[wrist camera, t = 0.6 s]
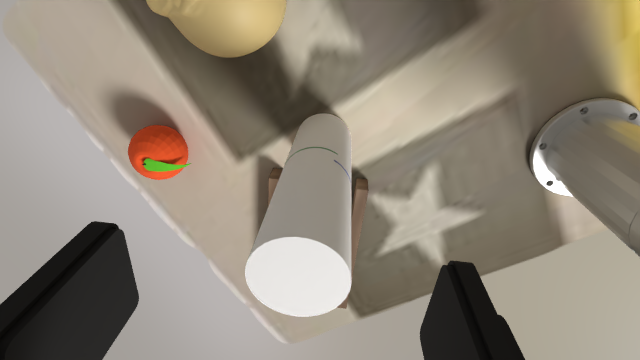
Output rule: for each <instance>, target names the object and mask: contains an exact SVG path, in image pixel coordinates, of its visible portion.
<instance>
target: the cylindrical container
mask: <svg viewBox="0 0 640 360" xmlns="http://www.w3.org/2000/svg"><path fill="white" fill-rule="evenodd" d="M245 277H246V281H247V285H248V287H249V288H250V290H251V292H252V293H253V294H254V296H255V297H256V298H257V299H258V300H259V301H260V302H262V303H263V304H264V305H266V306H267V307H269V308H271V309H273V310H275V311H277V312H280V313H283V314H287V315H291V316H299V317H310V316H316V315H321V314H324V313H327V312H329V311H331V310H333V309H335V308H336V307H338V306H339V305H340V304H341V303H342V302H343V301H344V300H345V299H346V297H347V295H348V293H349V291H350V287H351V133H350V130H349V128H348V126H347V125H346V124H345V122H344V121H342V120H341V119H340V118H338V117H337V116H334V115H331V114H326V113H321V114H315V115H312V116H310V117H308V118H307V119H306V120H304V122H303V123H302V124H301V125H300V127H299V129H298V132H297V134H296V137H295V139H294V142H293V145H292V147H291V150H290V152H289V155H288V158H287V160H286V163H285V165H284V168H283V170H282V173H281V175H280V178H279V181H278V183H277V186H276V188H275V191H274V194H273V196H272V199H271V201H270V204H269V206H268V209H267V212H266V214H265V217H264V219H263V222H262V224H261V227H260V230H259V232H258V235H257V237H256V240H255V243H254V245H253V248H252V250H251V253H250V255H249V258H248V261H247V264H246V268H245Z"/></svg>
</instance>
